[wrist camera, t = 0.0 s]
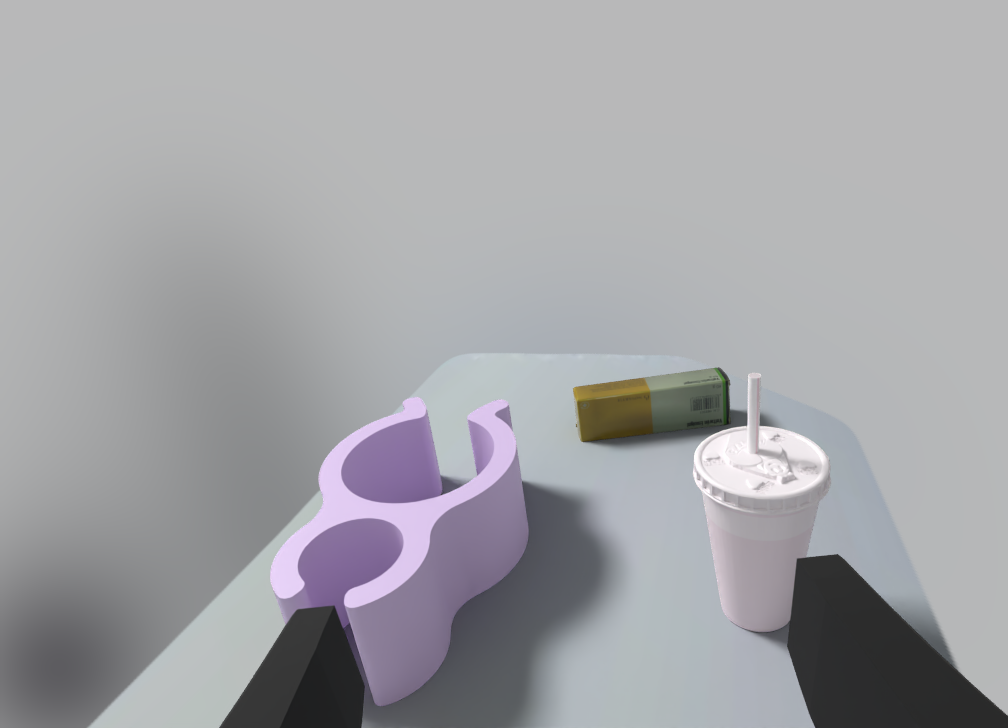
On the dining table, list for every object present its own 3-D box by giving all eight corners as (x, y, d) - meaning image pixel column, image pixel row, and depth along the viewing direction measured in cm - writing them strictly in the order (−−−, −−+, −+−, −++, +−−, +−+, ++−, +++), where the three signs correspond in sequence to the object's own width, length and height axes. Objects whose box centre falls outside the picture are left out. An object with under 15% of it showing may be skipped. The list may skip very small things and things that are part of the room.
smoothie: (766, 551, 42) (773, 339, 36) (848, 624, 37) (872, 388, 31) (673, 588, 41) (664, 372, 35) (744, 671, 35) (748, 431, 29)
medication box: (722, 409, 58) (721, 365, 56) (732, 425, 56) (732, 379, 54) (576, 428, 59) (571, 384, 57) (579, 445, 56) (575, 400, 54)
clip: (459, 722, 35) (435, 619, 32) (248, 683, 39) (209, 588, 36) (552, 483, 52) (541, 400, 49) (398, 472, 56) (380, 396, 53)
